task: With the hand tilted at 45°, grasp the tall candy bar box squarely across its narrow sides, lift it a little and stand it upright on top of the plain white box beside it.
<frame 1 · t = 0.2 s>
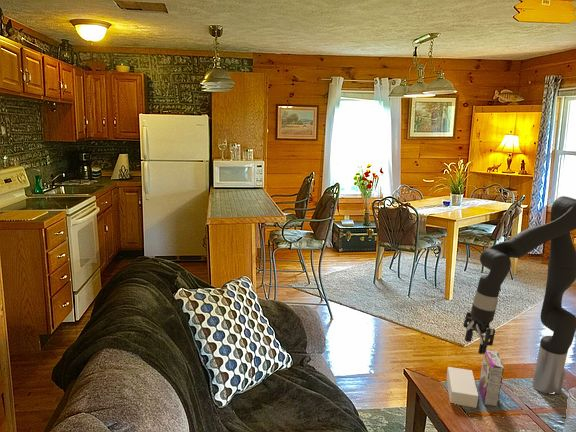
hand: (474, 347, 167), 22 cm above the table, tool pointing down, fingers open, 8 cm apart
candy bar box: (487, 397, 175), on the table
plain white box: (460, 392, 177), on the table
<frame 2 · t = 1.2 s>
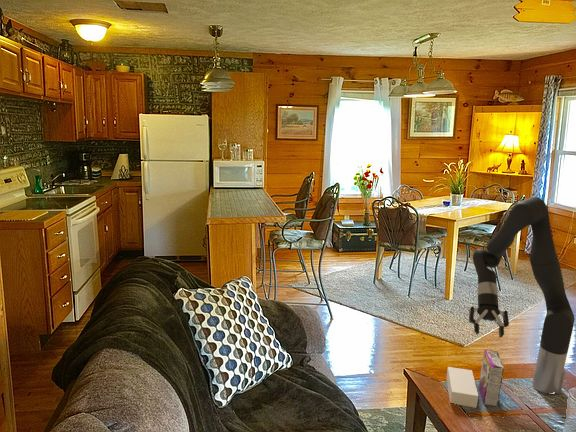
hand: (489, 335, 181), 19 cm above the table, tool tilted 45°, fingers open, 8 cm apart
nothing on the table moved.
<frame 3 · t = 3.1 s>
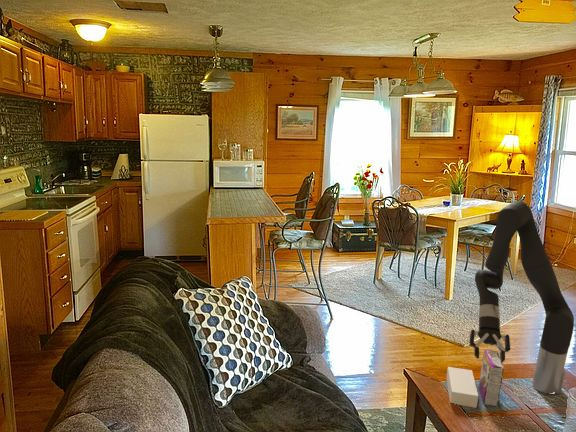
hand: (489, 360, 177), 12 cm above the table, tool tilted 45°, fingers open, 8 cm apart
nothing on the table moved.
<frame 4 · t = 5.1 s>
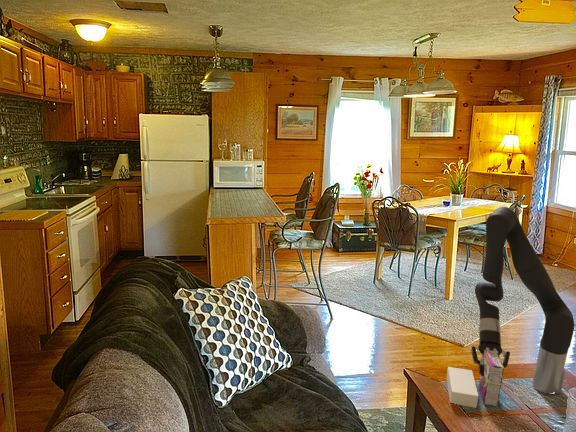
hand: (490, 377, 173), 8 cm above the table, tool tilted 45°, fingers closed on candy bar box, 5 cm apart
candy bar box: (487, 396, 175), on the table, touching gripper
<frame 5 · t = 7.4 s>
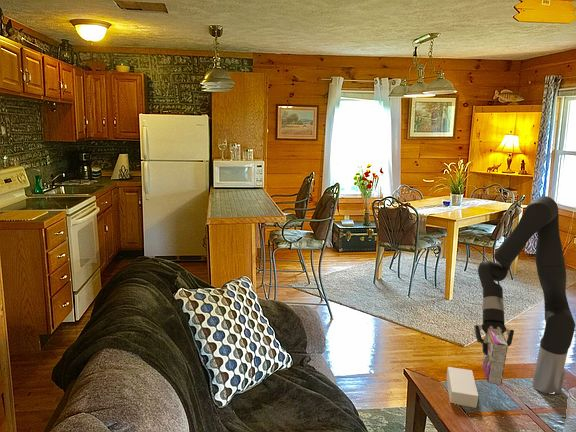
hand: (494, 355, 171), 17 cm above the table, tool tilted 45°, fingers closed on candy bar box, 5 cm apart
candy bar box: (491, 375, 173), point 9 cm above the table, touching gripper
when the fingers open (14 cm above the table, at t = 9.8 s): candy bar box drops 1 cm, resting on plain white box.
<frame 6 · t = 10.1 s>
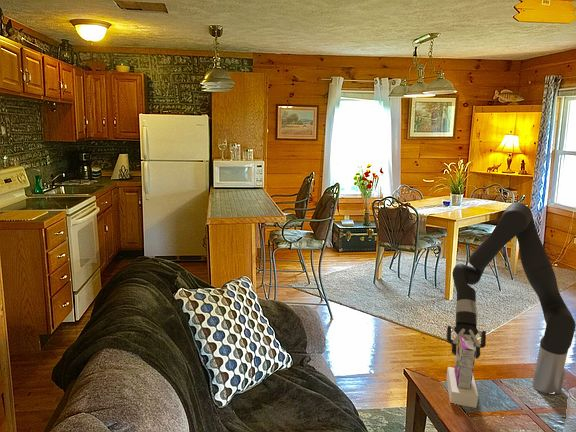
hand: (465, 356, 174), 15 cm above the table, tool tilted 45°, fingers open, 7 cm apart
candy bar box: (461, 380, 176), point 5 cm above the table, touching plain white box
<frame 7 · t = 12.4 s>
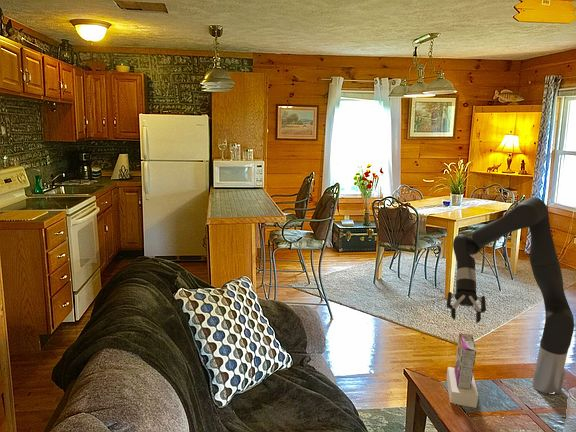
hand: (465, 320, 180), 24 cm above the table, tool tilted 45°, fingers open, 8 cm apart
nothing on the table moved.
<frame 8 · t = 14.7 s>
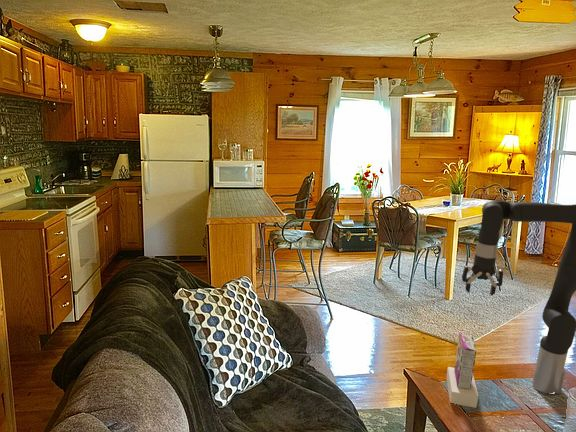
hand: (479, 293, 182), 34 cm above the table, tool pointing down, fingers open, 8 cm apart
nothing on the table moved.
at the end: candy bar box inside the target area (0.4 cm from its centre), point 4.8 cm above the table; candy bar box tilted 0°; the gripper is holding nothing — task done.
